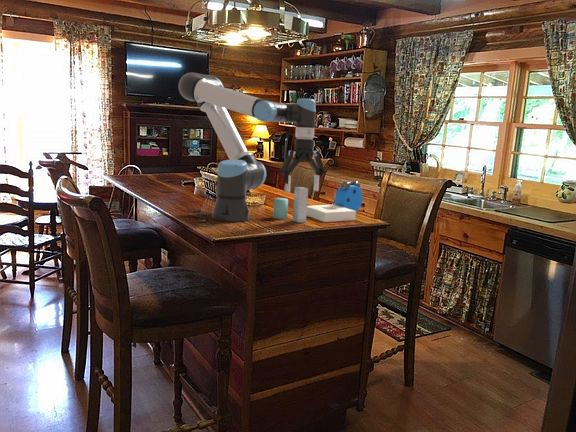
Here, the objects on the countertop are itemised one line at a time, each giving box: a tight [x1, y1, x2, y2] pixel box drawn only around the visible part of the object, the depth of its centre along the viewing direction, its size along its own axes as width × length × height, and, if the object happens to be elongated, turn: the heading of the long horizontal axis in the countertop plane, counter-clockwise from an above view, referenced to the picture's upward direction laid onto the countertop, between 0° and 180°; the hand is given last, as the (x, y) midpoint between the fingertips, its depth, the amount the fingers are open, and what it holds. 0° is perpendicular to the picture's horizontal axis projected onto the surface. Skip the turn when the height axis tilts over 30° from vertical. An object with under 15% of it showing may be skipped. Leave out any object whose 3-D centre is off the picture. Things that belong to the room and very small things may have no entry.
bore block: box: [306, 204, 357, 223], centre depth 216 cm, size 16×16×4 cm
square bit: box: [292, 186, 309, 224], centre depth 202 cm, size 4×4×14 cm
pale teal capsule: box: [272, 197, 289, 220], centre depth 208 cm, size 6×6×8 cm
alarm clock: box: [334, 180, 364, 213], centre depth 227 cm, size 13×6×15 cm, turn 131°
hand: (302, 191), depth 201 cm, fingers open, 13 cm apart
